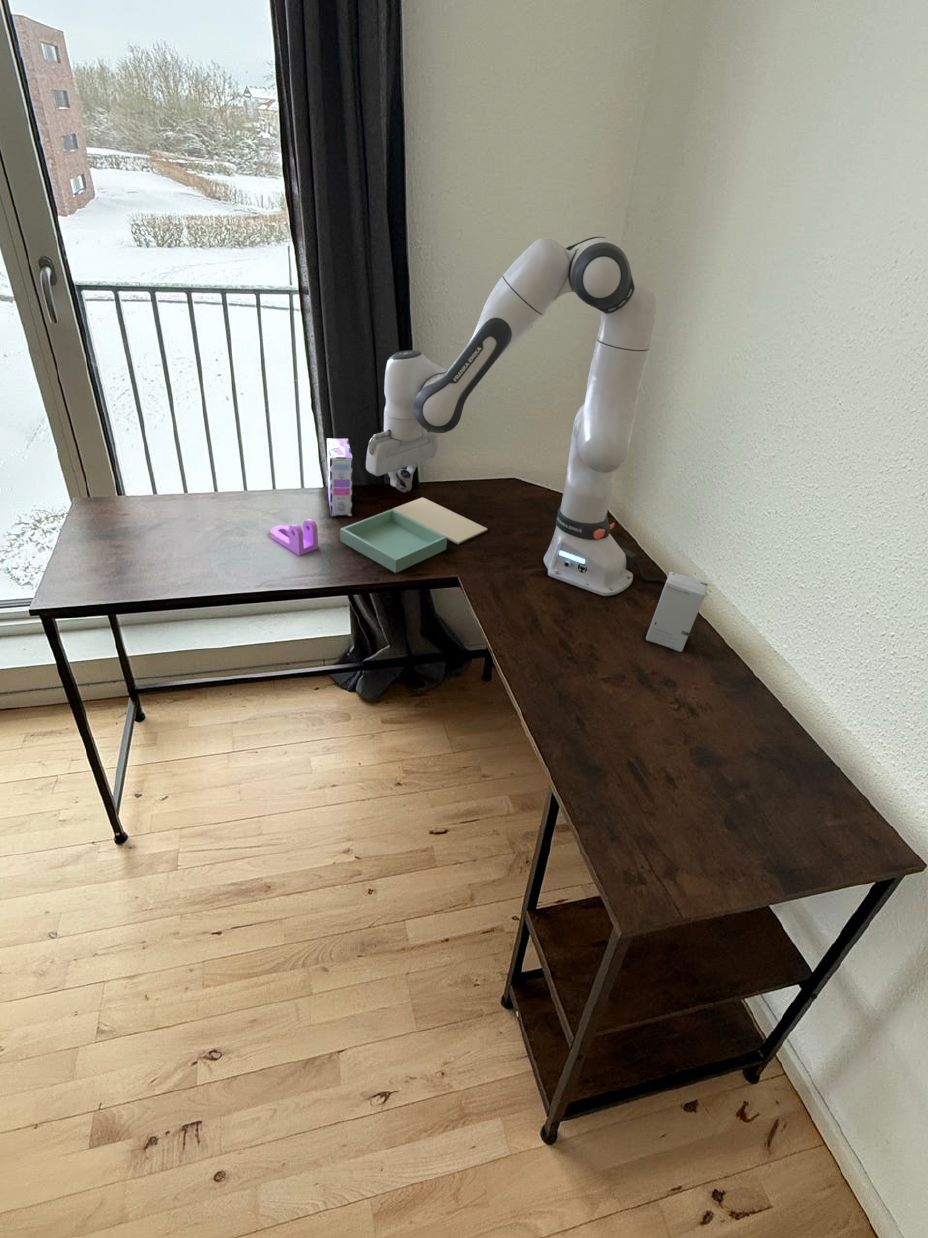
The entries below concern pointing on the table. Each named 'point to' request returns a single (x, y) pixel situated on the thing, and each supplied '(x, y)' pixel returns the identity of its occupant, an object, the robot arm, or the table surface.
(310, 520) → the bracket
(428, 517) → the mat
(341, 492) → the candy box
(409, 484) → the wristwatch
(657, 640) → the cosmetic box
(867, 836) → the table surface
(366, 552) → the tray
